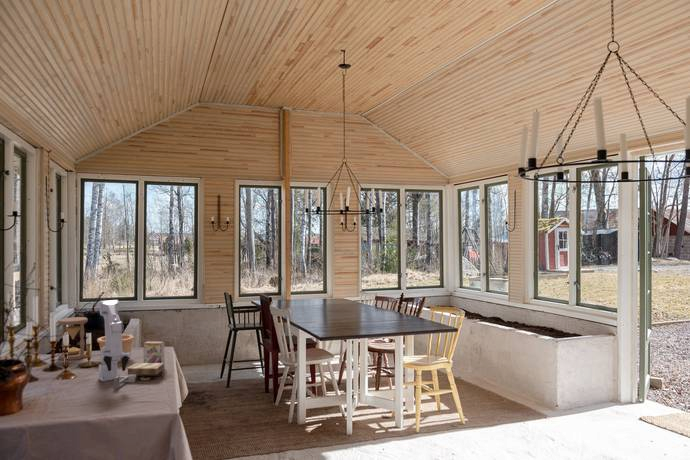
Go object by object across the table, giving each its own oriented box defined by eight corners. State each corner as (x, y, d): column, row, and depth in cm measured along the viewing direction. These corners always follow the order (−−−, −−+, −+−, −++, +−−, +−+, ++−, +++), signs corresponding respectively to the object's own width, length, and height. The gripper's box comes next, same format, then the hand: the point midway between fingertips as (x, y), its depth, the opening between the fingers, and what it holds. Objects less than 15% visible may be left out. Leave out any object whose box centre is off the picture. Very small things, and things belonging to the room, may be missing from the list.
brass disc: (142, 381, 310) (142, 379, 310) (139, 379, 314) (139, 377, 314) (151, 379, 313) (151, 377, 313) (148, 377, 317) (148, 375, 317)
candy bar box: (143, 370, 331) (143, 342, 331) (147, 368, 336) (146, 341, 336) (161, 370, 330) (161, 343, 330) (165, 368, 335) (164, 341, 335)
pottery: (97, 358, 364) (96, 336, 363) (133, 354, 373) (132, 333, 373) (97, 365, 344) (97, 342, 344) (135, 361, 353) (135, 339, 353)
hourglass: (52, 358, 363) (51, 320, 363) (74, 353, 379) (74, 316, 379) (72, 361, 356) (71, 322, 356) (94, 355, 372) (93, 317, 372)
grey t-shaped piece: (108, 389, 293) (108, 377, 293) (120, 381, 308) (120, 370, 308) (123, 389, 293) (122, 378, 293) (135, 381, 308) (135, 370, 308)
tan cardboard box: (127, 380, 309) (127, 368, 309) (136, 375, 321) (136, 362, 321) (156, 380, 308) (156, 368, 308) (164, 375, 320) (164, 362, 320)
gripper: (99, 346, 291) (99, 372, 291) (126, 346, 290) (127, 372, 290) (105, 343, 298) (105, 369, 298) (132, 343, 297) (132, 369, 297)
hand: (116, 370), depth 295 cm, fingers open, 7 cm apart
